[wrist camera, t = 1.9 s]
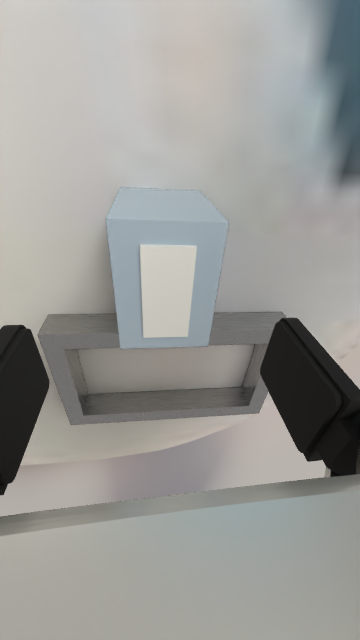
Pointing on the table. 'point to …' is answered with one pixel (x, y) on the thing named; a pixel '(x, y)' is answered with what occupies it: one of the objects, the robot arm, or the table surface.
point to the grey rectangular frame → (83, 408)
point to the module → (165, 266)
